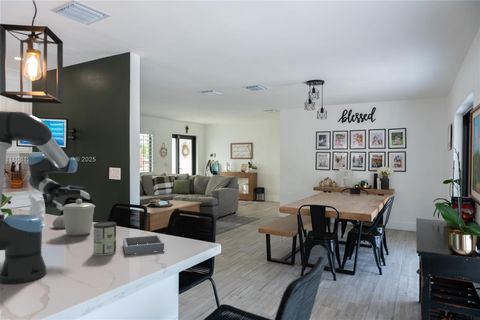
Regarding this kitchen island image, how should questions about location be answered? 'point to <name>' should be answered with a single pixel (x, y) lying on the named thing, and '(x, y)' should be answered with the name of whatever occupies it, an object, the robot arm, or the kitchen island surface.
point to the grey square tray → (145, 247)
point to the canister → (78, 218)
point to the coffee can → (104, 238)
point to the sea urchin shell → (59, 222)
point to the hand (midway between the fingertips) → (75, 202)
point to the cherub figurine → (37, 207)
